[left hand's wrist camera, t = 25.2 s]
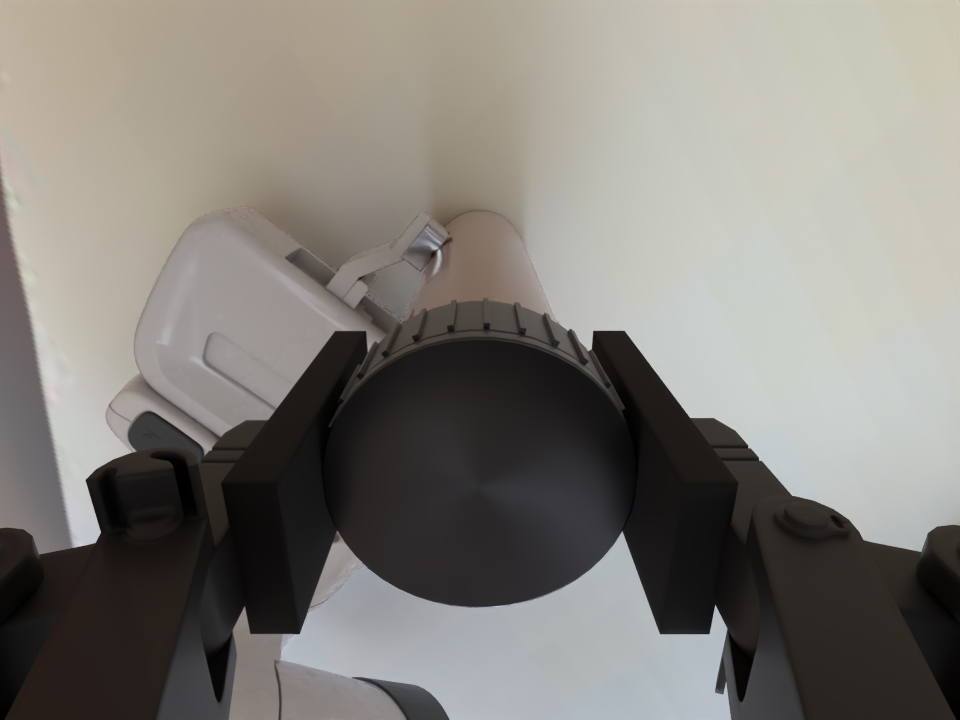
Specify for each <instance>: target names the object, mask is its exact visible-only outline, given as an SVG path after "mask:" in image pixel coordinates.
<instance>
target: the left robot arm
mask: <svg viewBox="0 0 960 720" xmlns="http://www.w3.org/2000/svg"><path fill="white" fill-rule="evenodd" d="M592 351H593V352H594V353H595V355H596V357H597V359H598V361H599V363H600V365H601V366H602V368H603V370H604V372H605V374H607V376H608V378H609V379H610V381H611V383H612V385H613V387H614V389H615V390H616V392H617V394H618V396H619V398H620V400H621V402H622V403H623V405H624V407H625V409H626V411H627V414H624V417H625V419H626V421H627V423H628V425H629V428H630V431H631V434H632V437H633V440H634V443H635V449H636V454H637V461H638V473H637V482H636V491H635V499H634V503H633V506H632V510H631V513H630V515H629V518H628V520H627V522H626V524H625V527H624V529H623V530H622V531H623V533H624V536H625V539H626V542H627V544H628V547H629V550H630V553H631V555H632V558H633V561H634V564H635V566H636V569H637V572H638V575H639V577H640V580H641V583H642V586H643V588H644V591H645V594H646V597H647V599H648V602H649V605H650V608H651V610H652V613H653V616H654V619H655V621H656V624H657V627H658V630H659V632H660V634H709V633H710V628H711V623H712V618H713V613H714V608H715V605H716V607H717V609H718V610H719V612H720V614H721V616H722V618H723V620H724V622H725V624H726V626H727V628H728V629H727V634H726V639H725V644H724V648H723V653H722V658H721V663H720V668H719V672H718V677H717V683H716V690H715V693H719V694H723V692H724V688H725V683H726V682H727V689H728V697H729V705H730V712H731V720H960V526H958V525H948V526H939V527H936V528H935V529H933V530H932V531H930V532H929V533H928V535H927V538H926V541H925V544H924V546H923V549H922V552H918V551H913V550H908V549H902V548H897V547H892V546H887V545H882V544H877V543H872V542H868V541H864V540H863V539H862V537H861V535H860V533H859V531H858V530H857V529H856V528H855V526H854V525H853V524H852V523H851V522H850V520H848V519H847V518H845V517H844V516H843V515H841V514H840V513H838V512H837V511H835V510H834V509H832V508H829V507H827V506H825V505H822V504H820V503H818V502H815V501H812V500H808V499H804V498H800V497H796V496H792V495H791V494H790V493H789V492H788V491H787V489H786V488H785V487H784V486H783V485H782V484H781V483H780V481H779V480H778V479H777V478H776V477H775V476H774V475H773V473H772V472H771V471H770V470H769V469H768V468H767V467H766V465H765V464H764V463H763V462H762V461H759V457H758V456H757V455H756V454H755V453H754V452H753V451H752V449H748V445H747V444H746V443H745V441H744V440H743V439H742V438H741V437H740V436H739V435H738V433H737V432H736V431H735V430H733V429H731V428H730V427H728V426H726V425H724V424H723V423H721V422H719V421H718V420H716V419H714V418H690V417H689V416H688V415H687V413H686V412H685V411H684V409H683V408H682V407H681V405H680V404H679V403H678V401H677V400H676V399H675V397H674V396H673V395H672V393H671V392H670V391H669V389H668V388H667V387H666V385H665V384H664V383H663V381H662V380H661V379H660V377H659V376H658V375H657V373H656V372H655V371H654V370H653V368H652V367H651V366H650V364H649V363H648V362H647V360H646V359H645V358H644V356H643V355H642V354H641V352H640V351H639V350H638V348H637V347H636V346H635V344H634V343H633V342H632V340H631V339H630V338H629V336H628V335H627V334H626V332H625V331H593V343H592ZM367 353H368V348H367V335H366V331H335V332H334V333H333V334H332V336H331V337H330V338H329V340H328V341H327V342H326V344H325V345H324V346H323V348H322V349H321V350H320V352H319V353H318V354H317V356H316V357H315V358H314V360H313V361H312V362H311V364H310V365H309V366H308V368H307V369H306V370H305V372H304V373H303V374H302V376H301V377H300V378H299V380H298V381H297V382H296V384H295V385H294V386H293V388H292V389H291V390H290V392H289V393H288V394H287V396H286V397H285V398H284V400H283V401H282V402H281V404H280V405H279V406H278V408H277V409H276V410H275V411H274V413H273V414H272V415H271V417H270V418H269V419H268V420H246V421H244V422H242V423H241V424H239V425H237V426H235V427H234V428H232V429H230V430H229V431H227V432H225V433H224V434H223V435H222V437H221V438H220V439H219V440H218V441H217V442H216V443H215V445H214V446H213V447H212V451H208V453H207V454H206V455H205V456H204V457H203V458H202V460H201V463H198V462H197V457H196V455H194V454H193V453H191V452H190V451H189V450H186V449H181V448H175V447H164V448H151V449H147V450H142V451H137V452H133V453H130V454H127V455H125V456H122V457H119V458H116V459H114V460H112V461H110V462H108V463H107V464H105V465H103V466H101V467H100V468H98V469H96V470H95V471H94V472H93V473H92V474H91V475H90V476H89V477H88V478H87V479H86V483H87V486H88V490H89V493H90V496H91V500H92V503H93V507H94V510H95V513H96V517H97V520H98V523H99V527H100V530H101V534H100V536H99V538H98V540H97V542H96V543H94V544H90V545H86V546H81V547H76V548H71V549H66V550H61V551H56V552H51V553H46V554H40V555H39V554H38V551H37V548H36V545H35V542H34V539H33V536H32V535H30V534H29V533H28V532H26V531H25V530H23V529H15V528H0V720H229V714H230V706H231V699H232V691H233V683H234V675H235V668H236V660H237V651H236V644H235V639H234V634H233V629H234V627H235V625H236V623H237V621H238V619H239V617H240V615H241V613H242V611H243V609H244V607H245V610H246V615H247V620H248V625H249V630H250V634H300V631H301V629H302V626H303V623H304V620H305V618H306V615H307V612H308V609H309V607H310V604H311V601H312V598H313V596H314V593H315V590H316V587H317V585H318V582H319V579H320V576H321V574H322V571H323V568H324V565H325V563H326V560H327V557H328V554H329V552H330V549H331V546H332V543H333V541H334V538H335V535H336V532H337V529H336V527H335V525H334V523H333V521H332V518H331V516H330V514H329V511H328V508H327V504H326V500H325V495H324V486H323V477H322V458H323V453H324V448H325V443H326V439H327V436H328V433H329V432H327V428H328V426H329V424H330V422H331V420H332V418H333V416H334V414H335V412H336V410H337V409H338V407H339V405H340V404H339V403H338V400H339V399H340V397H341V395H342V393H343V391H344V389H345V387H346V386H347V384H348V382H349V380H350V378H351V376H352V375H353V373H354V371H355V369H356V367H357V365H358V364H359V365H362V363H363V361H364V359H365V357H366V355H367Z"/></svg>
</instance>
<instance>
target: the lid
mask: <svg viewBox="0 0 960 720" xmlns="http://www.w3.org/2000/svg"><path fill="white" fill-rule="evenodd" d="M338 403H339V404H340V405H339V407H338V409H337V410H336V412H335V414H334V416H333V418H332V420H331V422H330V424H329V426H328V428H327V432H329V433H328V436H327V439H326V443H325V448H324V453H323V458H322V477H323V486H324V495H325V500H326V504H327V508H328V511H329V514H330V516H331V518H332V521H333V523H334V525H335V527H336V529H337V531H338V532H339V534H340V536H341V537H342V539H343V541H344V542H345V544H346V545H347V546H348V547H349V549H350V550H351V551H352V552H353V554H354V555H355V556H356V557H357V558H358V559H359V560H360V561H361V562H362V563H363V564H364V565H365V566H366V567H367V568H368V569H370V570H371V571H372V572H374V573H375V574H376V575H378V576H379V577H380V578H382V579H383V580H385V581H387V582H388V583H390V584H392V585H393V586H395V587H397V588H398V589H401V590H403V591H405V592H407V593H410V594H412V595H414V596H417V597H420V598H423V599H426V600H429V601H432V602H437V603H441V604H446V605H451V606H460V607H469V608H489V607H500V606H508V605H513V604H518V603H523V602H527V601H530V600H534V599H537V598H540V597H543V596H545V595H548V594H550V593H552V592H555V591H557V590H559V589H561V588H563V587H564V586H566V585H568V584H570V583H571V582H573V581H575V580H576V579H578V578H579V577H580V576H582V575H583V574H585V573H586V572H587V571H589V570H590V569H591V568H592V567H593V566H594V565H595V564H596V563H597V562H598V561H600V560H601V559H602V558H603V557H604V555H605V554H606V553H607V552H608V551H609V549H610V548H611V547H612V546H613V545H614V543H615V542H616V540H617V538H618V537H619V535H620V534H621V532H622V530H623V529H624V527H625V524H626V522H627V520H628V518H629V515H630V513H631V510H632V506H633V503H634V499H635V491H636V482H637V473H638V461H637V454H636V449H635V443H634V440H633V437H632V434H631V431H630V428H629V425H628V423H627V421H626V419H625V417H624V414H627V411H626V409H625V407H624V405H623V403H622V402H621V400H620V398H619V396H618V394H617V392H616V390H615V389H614V387H613V385H612V383H611V381H610V379H609V378H608V376H607V374H605V372H604V370H603V368H602V366H601V365H600V363H599V361H598V359H597V357H596V355H595V353H594V352H593V351H592V350H590V351H587V349H586V348H585V347H584V346H583V345H582V344H581V343H580V342H579V340H578V338H577V336H576V334H575V332H574V331H573V330H572V329H570V330H569V331H567V330H566V329H565V328H563V327H562V326H561V325H559V324H558V323H556V322H554V321H553V320H551V318H550V315H549V314H547V313H544V314H543V315H542V314H539V313H537V312H535V311H532V310H530V309H527V308H524V307H521V305H520V303H518V302H515V303H514V305H513V304H509V303H502V302H494V301H489V298H483V301H466V302H458V303H457V300H451V304H447V305H443V306H439V307H435V308H433V309H430V310H428V311H427V309H426V308H424V309H421V311H420V314H418V315H416V316H414V317H412V318H411V319H409V320H407V321H405V322H403V323H402V324H400V323H399V322H397V323H396V324H394V326H393V328H392V330H391V332H390V333H388V334H387V335H386V336H385V337H384V338H383V339H382V340H381V341H380V342H379V343H377V342H376V341H375V342H374V343H373V344H372V346H371V348H370V350H369V352H368V353H367V355H366V357H365V359H364V361H363V363H362V365H359V364H358V365H357V367H356V369H355V371H354V373H353V375H352V376H351V378H350V380H349V382H348V384H347V386H346V387H345V389H344V391H343V393H342V395H341V397H340V399H339V400H338Z"/></svg>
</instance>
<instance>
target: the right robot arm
mask: <svg viewBox="0 0 960 720" xmlns="http://www.w3.org/2000/svg"><path fill="white" fill-rule="evenodd" d="M449 234H450V232H449V231H448V230H447V229H446V228H444V227H443V226H442V225H441V224H440V223H439V222H438V221H436V220H435V219H434V218H433V217H432V216H431V215H429V214H428V213H427V212H426V211H424V210H423V209H422V210H421V211H420V213H419V214H418V215H417V216H416V218H415V219H414V220H413V221H412V223H411V224H410V225H409V226H408V228H407V229H406V230H405V232H404V233H403V234H402V235H401V237H400V238H399V239H398V241H396V240H392V241H390V242H387V243H384V244H382V245H379V246H376V247H374V248H371V249H369V250H366V251H363V252H361V253H358V254H355V255H353V256H352V257H351V258H350V259H349V260H348V261H346V262H345V263H344V264H343V265H342V266H341V268H340V269H339V270H338V272H336V271H335V270H334V269H332V268H331V267H330V266H328V265H327V264H326V263H324V262H323V261H322V260H320V259H319V258H318V257H317V256H315V255H314V254H313V253H311V252H310V251H309V250H307V249H306V248H305V247H303V246H302V245H301V244H300V243H298V242H297V241H296V240H294V239H293V238H292V237H290V236H289V235H288V234H286V233H285V232H284V231H283V230H281V229H280V228H279V227H277V226H276V225H275V224H273V223H272V222H271V221H270V220H268V219H267V218H266V217H264V216H263V215H262V214H261V213H259V212H258V211H256V210H255V209H253V208H250V207H237V208H229V209H223V210H217V211H214V212H211V213H208V214H205V215H203V216H201V217H199V218H197V219H196V220H195V221H193V222H192V223H191V224H190V225H189V226H188V227H187V228H186V230H185V231H184V233H183V234H182V236H181V237H180V239H179V240H178V242H177V243H176V245H175V247H174V248H173V250H172V252H171V253H170V255H169V257H168V259H167V261H166V263H165V264H164V266H163V268H162V270H161V272H160V274H159V276H158V278H157V280H156V282H155V284H154V287H153V289H152V291H151V293H150V295H149V297H148V300H147V302H146V305H145V307H144V310H143V312H142V314H141V317H140V320H139V322H138V325H137V329H136V333H135V338H134V355H135V360H136V363H137V366H138V369H139V371H140V373H139V374H137V375H136V376H135V377H134V378H133V379H132V380H131V381H130V382H129V383H128V384H127V385H126V386H125V387H124V388H123V389H122V390H121V391H120V392H119V393H118V394H117V395H116V396H115V397H114V399H113V400H112V401H111V403H110V404H109V406H108V408H107V411H106V421H107V423H108V425H109V427H110V428H111V430H112V431H113V432H114V434H115V435H116V436H117V437H118V438H119V439H120V440H121V441H122V442H123V443H124V444H125V445H126V446H127V447H128V448H129V449H130V450H131V451H132V452H137V451H142V450H147V449H151V448H164V447H175V448H181V449H186V450H189V451H190V452H191V453H193V454H194V455H196V457H197V462H198V463H201V460H202V458H203V457H204V456H205V455H206V454H207V453H208V451H212V447H213V446H214V445H215V443H216V442H217V441H218V440H219V439H220V438H221V437H222V435H223V434H224V433H225V432H227V431H229V430H230V429H232V428H234V427H235V426H237V425H239V424H241V423H242V422H244V421H246V420H268V419H269V418H270V417H271V415H272V414H273V413H274V411H275V410H276V409H277V408H278V406H279V405H280V404H281V402H282V401H283V400H284V398H285V397H286V396H287V394H288V393H289V392H290V390H291V389H292V388H293V386H294V385H295V384H296V382H297V381H298V380H299V378H300V377H301V376H302V374H303V373H304V372H305V370H306V369H307V368H308V366H309V365H310V364H311V362H312V361H313V360H314V358H315V357H316V356H317V354H318V353H319V352H320V350H321V349H322V348H323V346H324V345H325V344H326V342H327V341H328V340H329V338H330V337H331V336H332V334H333V333H334V332H335V331H366V335H367V348H368V352H369V350H370V348H371V346H372V344H373V343H374V342H375V341H376V342H377V343H379V342H380V341H381V340H382V339H383V338H384V337H385V336H386V335H387V334H388V333H390V332H391V330H392V328H393V326H394V324H396V323H397V322H399V323H400V324H402V323H403V322H401V321H400V320H399V319H398V318H396V317H395V316H394V315H392V314H391V313H390V312H388V311H387V310H386V309H385V308H383V307H382V306H381V305H379V304H378V303H377V302H375V301H374V300H373V299H371V298H370V297H369V296H368V295H366V293H367V291H368V290H369V289H370V287H371V286H372V285H373V283H374V282H375V280H376V279H377V274H376V273H375V272H374V271H377V270H380V269H382V268H385V267H387V266H390V265H392V264H395V263H397V262H400V261H403V260H406V261H407V262H408V263H410V264H411V265H412V266H414V267H415V268H416V269H417V270H419V271H420V272H421V271H422V270H423V268H424V267H425V266H426V265H427V264H428V262H429V261H430V259H431V257H432V254H433V252H435V251H437V250H438V249H439V248H440V247H441V246H442V245H443V244H444V242H445V241H446V240H447V238H448V237H449ZM556 322H557V323H558V324H559V322H558V321H557V320H556ZM559 325H560V324H559ZM362 564H363V563H362V562H361V561H360V560H359V559H358V558H357V557H356V556H355V555H354V554H353V552H352V551H351V550H350V549H349V547H348V546H347V545H346V544H345V542H344V541H343V539H342V537H341V536H340V534H339V532H338V531H337V532H336V535H335V538H334V541H333V543H332V546H331V549H330V552H329V554H328V557H327V560H326V563H325V565H324V568H323V571H322V574H321V576H320V579H319V582H318V585H317V587H316V590H315V593H314V596H313V598H312V601H311V604H310V607H309V609H308V612H307V613H309V612H310V611H312V610H314V609H316V608H318V607H319V606H321V605H322V604H323V603H324V602H326V601H327V600H328V599H329V598H330V597H332V596H333V594H334V593H335V592H336V591H337V590H338V589H339V588H340V587H341V586H342V585H343V584H344V583H345V582H346V581H347V580H348V578H349V577H350V576H351V575H352V574H353V573H354V572H355V571H356V570H357V569H358V568H359V567H360V566H361V565H362ZM233 634H234V639H235V644H236V651H237V660H236V668H235V675H234V683H233V691H232V699H231V706H230V714H229V720H449V718H448V716H447V714H446V712H445V711H444V709H443V707H442V706H441V705H440V703H439V702H438V701H437V700H436V698H435V697H434V696H433V695H431V694H430V693H429V692H428V691H426V690H425V689H423V688H421V687H419V686H416V685H411V684H404V683H397V682H390V681H383V680H376V679H369V678H362V677H352V678H349V677H345V676H342V675H338V674H334V673H330V672H326V671H322V670H318V669H314V668H310V667H306V666H302V665H299V664H295V663H291V662H287V661H283V660H281V649H282V648H283V647H284V646H285V645H286V644H287V643H288V641H289V640H290V639H291V637H292V636H293V635H294V634H250V630H249V625H248V620H247V615H246V610H245V607H244V609H243V611H242V613H241V615H240V617H239V619H238V621H237V623H236V625H235V627H234V629H233Z"/></svg>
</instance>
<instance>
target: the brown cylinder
mask: <svg viewBox="0 0 960 720" xmlns="http://www.w3.org/2000/svg"><path fill="white" fill-rule="evenodd" d="M445 228H446V229H447V230H448V231H449V232H450V234H449V237H448V238H447V240H446V241H445V242H444V244H443V245H442V246H441V247H440V248H439V249H438V250H437V251H435V252H433V254H432V257H431V259H430V261H429V262H428V264H427V266H426V269H425V271H424V273H423V276H422V278H421V280H420V283H419V285H418V288H417V290H416V292H415V295H414V297H413V299H412V302H411V304H410V307H409V309H408V311H407V314H406V316H405V318H404V321H403V322H405V321H407V320H409V319H411V318H412V317H414V316H416V315H418V314H420V311H421V309H424V308H426V309H427V311H428V310H430V309H433V308H435V307H439V306H443V305H447V304H451V300H457V303H458V302H466V301H483V298H489V301H494V302H502V303H509V304H513V305H514V303H515V302H518V303H520V305H521V307H524V308H527V309H530V310H532V311H535V312H537V313H539V314H542V315H543V314H544V313H547V314H549V315H550V318H551V320H553V321H554V322H556V319H555V317H554V314H553V312H552V310H551V307H550V305H549V303H548V300H547V298H546V295H545V293H544V291H543V288H542V286H541V284H540V281H539V279H538V277H537V274H536V272H535V269H534V267H533V265H532V262H531V260H530V258H529V255H528V253H527V250H526V248H525V246H524V243H523V241H522V239H521V236H520V235H519V233H518V231H517V230H516V228H515V227H514V226H513V225H512V224H511V223H510V222H509V221H508V220H507V219H505V218H504V217H502V216H500V215H498V214H496V213H492V212H488V211H471V212H467V213H464V214H462V215H459V216H458V217H456V218H454V219H453V220H452V221H450V222H449V223H448V224H447V225H446V226H445ZM556 323H557V322H556Z"/></svg>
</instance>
